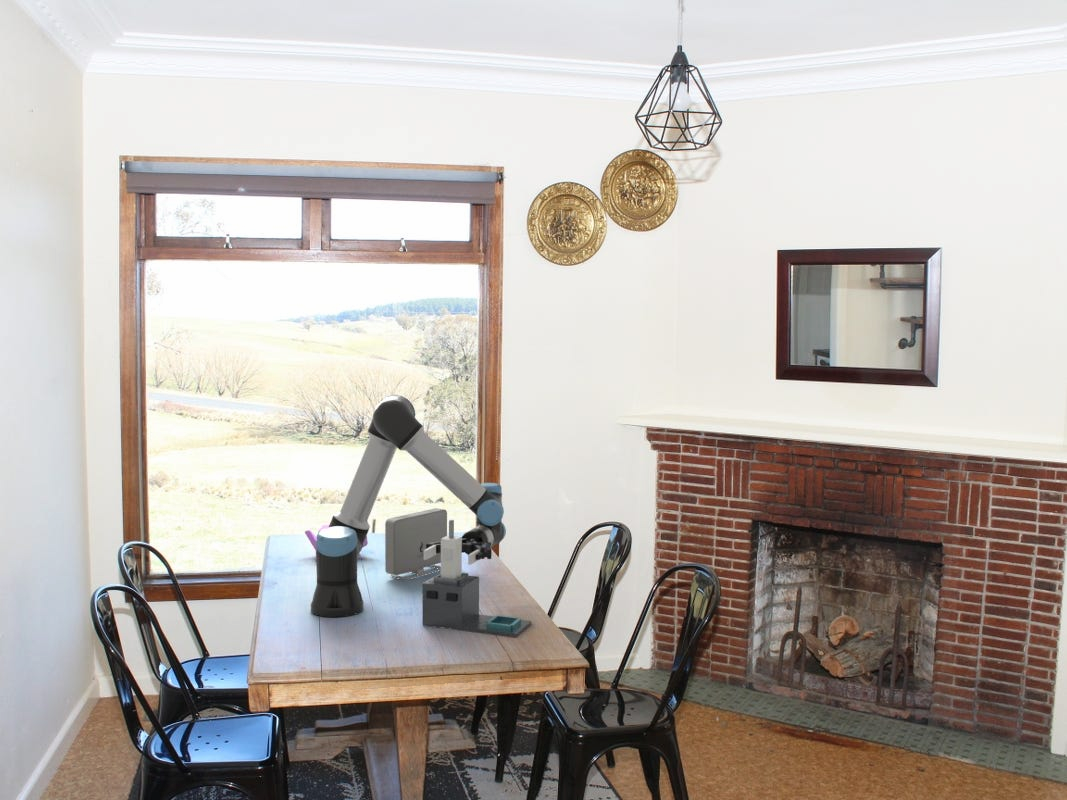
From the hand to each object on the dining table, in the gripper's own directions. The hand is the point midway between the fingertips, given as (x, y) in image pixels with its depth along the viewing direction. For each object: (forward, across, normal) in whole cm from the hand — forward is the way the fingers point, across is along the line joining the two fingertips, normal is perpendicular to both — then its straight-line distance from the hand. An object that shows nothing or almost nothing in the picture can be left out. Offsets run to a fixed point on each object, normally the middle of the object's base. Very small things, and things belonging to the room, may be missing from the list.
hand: (446, 557), depth 276 cm
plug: (-3, 0, -7) cm, 8 cm away
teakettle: (-56, +69, -20) cm, 90 cm away
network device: (-47, +32, -19) cm, 60 cm away
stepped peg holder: (-3, -8, -19) cm, 21 cm away
